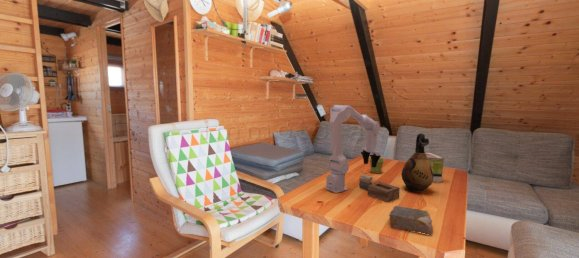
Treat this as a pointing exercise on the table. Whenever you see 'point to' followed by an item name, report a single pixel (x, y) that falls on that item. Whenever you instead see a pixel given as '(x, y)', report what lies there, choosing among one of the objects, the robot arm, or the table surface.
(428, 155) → the tea box
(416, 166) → the ceramic jug
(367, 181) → the rectangular block end
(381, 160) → the plant pot
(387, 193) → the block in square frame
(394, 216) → the geological specimen
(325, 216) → the table surface
